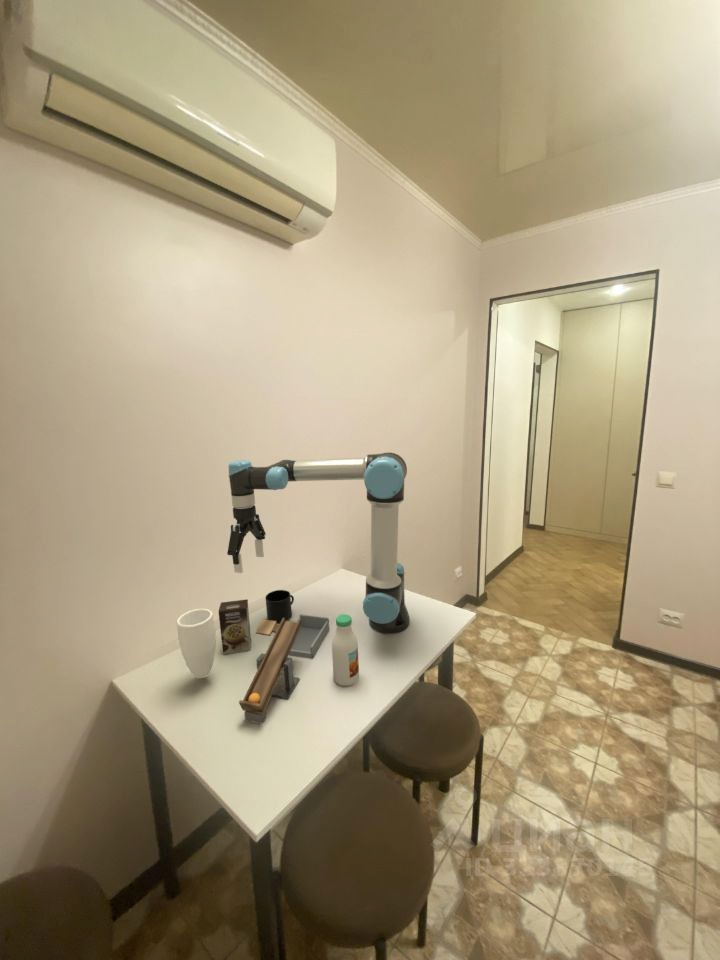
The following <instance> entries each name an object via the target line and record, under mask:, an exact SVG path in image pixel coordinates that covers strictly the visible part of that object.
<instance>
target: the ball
mask: <svg viewBox="0 0 720 960" xmlns="http://www.w3.org/2000/svg"><path fill="white" fill-rule="evenodd" d="M248 701H249V702H253V703H258V704H259V702H260V696H259V694H257V693H253V694H251V695H250V697H249V699H248Z"/></svg>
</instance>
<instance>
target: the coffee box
mask: <svg viewBox="0 0 720 960" xmlns="http://www.w3.org/2000/svg"><path fill="white" fill-rule="evenodd" d="M248 601H249V600H248V599H237V600H230V601H223V602H220V604H219V609H218V620H219V628H220V636H221V637H220V639H221V650H222V655H224V656H225V655H231V654H237V653H238V654H239V653H243V652H244V653H245V652H249V651H251V649H252V648H251V647H252V633H251V623H250V613H249V602H248Z"/></svg>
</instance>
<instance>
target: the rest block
mask: <svg viewBox="0 0 720 960" xmlns="http://www.w3.org/2000/svg"><path fill="white" fill-rule="evenodd" d="M266 712H267V711H265V712H264V714H259V713H254V712H249V711H244V720H245V721H248V722H252V723H256V724H257V723H258V724H263V723H264V721H265V720H266V719H267V714H266Z"/></svg>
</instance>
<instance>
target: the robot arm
mask: <svg viewBox="0 0 720 960" xmlns="http://www.w3.org/2000/svg"><path fill="white" fill-rule="evenodd" d="M407 473H408V467H407V464H406V461H405V460H404V458H403V457H402V456H401V455H400V454H397V453H394V452H382V453H376V454H375V453H373V454H366V455H365V456H364V457H351V458H327V459H326V458H325V459H322V458H321V459H308V460H307V459H303V460H302V459H299V460H298V459H297V460H293V459H282V460H280V461H278V462H275V463H273V464H271V465H268V466H258V467H257V466H253V464H252V462H251V460H246V459H245V460H243V459H242V460H233V461H231V462H229V464H228V479H229V485H230V486H229V487H230V495H231V503H232V504H231V505H232V507H233V508H232V515H233V517H232V518H234V519H235V520H236V524H231V525H230V534H229V535H230V536H229V541H228V546H227V555H228V556H232V557H231V558H232V563H233V568H234V569H233V570H234V573H238V574H242V573H244V570H243V569H244V568H243V562H242V561H243V559H242V554H241V553H240V552H241V550H242V549H241V548H242V546H243V542H244V539H245V537H246V536H247V534H248V533H249V532H250V533H251V534H252V536H254V538H255V539H254V547H255V548H254V549H255V557H257V558H263V557H264V556H265V555H264V545H263V540H265V539H266V531H265V528H264V527H263V524H262V522H261V520H260V515H259V514H258V513H257V510H256V505H255V504H256V499H255V498H256V496H255V490H267V491H268V490H271V491H272V490H273V491H277V490H284V489H286V487H287V485H288V483H289V482H315V481H316V482H317V481H319V482H321V481H322V482H323V481H352V480H353V481H356V480H358V481H359V480H363V482H364V483H363V484H364V485H365V488H366V500H367V502H369V504H370V505H371V507H370V509H371V510H370V515H371V517H370V522H371V523H370V573H369V574H368V575H366V577H365V596H364V597H365V598H364V599H363V601H362V609H363V613H364V615H365V616H366V617H367V618H368V624H369V627H370V628H372V629H373V630H374V631H376V632H379V633H383V634H397V633H401V632H403V631H405V630H406V629H407V628H408V627H409V626H410V614H409V611H408V609H407V606H406V603H405V602H406V601H405V598H406V597H405V567H404V565H402V564H401V563H398V544H399V543H398V542H399V535H398V534H399V508H400V507H399V505H401V504H402V502H404V500H405V498H404V497H405V479H406V477H407V475H408V474H407Z"/></svg>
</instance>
